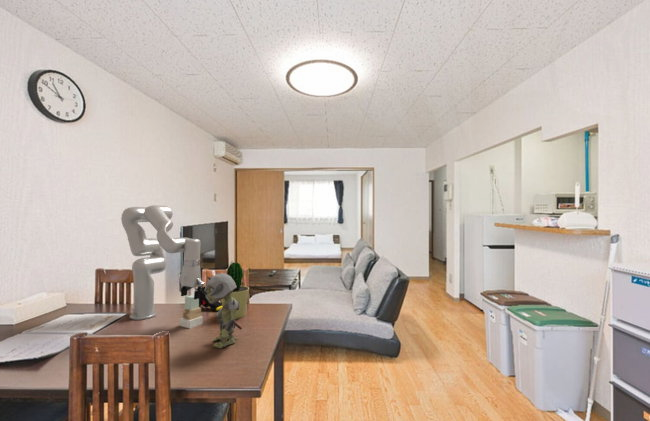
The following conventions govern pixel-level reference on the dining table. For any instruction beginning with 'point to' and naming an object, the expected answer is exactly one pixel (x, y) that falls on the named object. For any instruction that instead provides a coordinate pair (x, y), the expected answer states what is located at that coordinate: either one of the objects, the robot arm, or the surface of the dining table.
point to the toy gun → (205, 302)
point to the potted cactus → (238, 289)
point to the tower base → (191, 322)
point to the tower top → (191, 313)
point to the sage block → (191, 303)
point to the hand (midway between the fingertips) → (190, 297)
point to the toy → (217, 290)
